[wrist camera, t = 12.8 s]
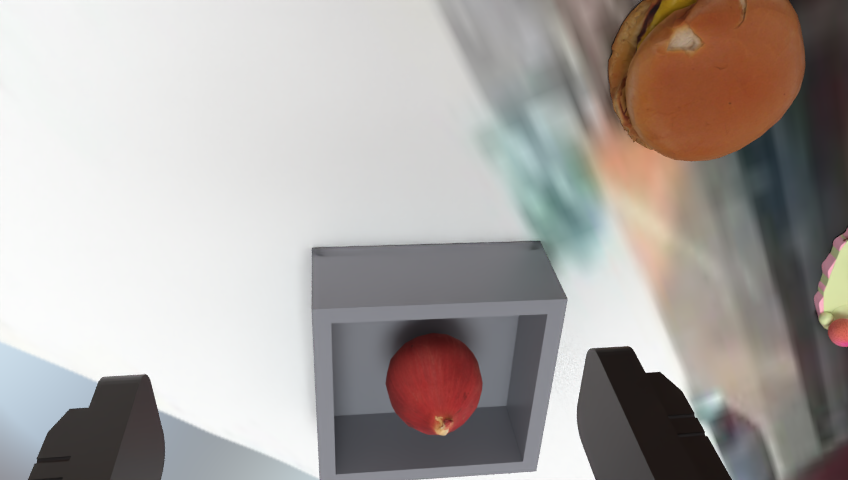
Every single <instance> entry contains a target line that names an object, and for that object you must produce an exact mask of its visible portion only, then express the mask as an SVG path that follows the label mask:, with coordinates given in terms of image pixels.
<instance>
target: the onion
mask: <svg viewBox="0 0 848 480" xmlns="http://www.w3.org/2000/svg"><path fill="white" fill-rule="evenodd" d="M385 384H386V388H387V392H388V395H389V399H390V402H391V405H392V407H393V409H394V411H395V413H396V414H397V415H398V416H399V417H400V418H401V419H402V420H403V421H404V422H405V423H406V424H407V425H408V426H409V427H411V428H413V429H415V430H418V431H420V432H422V433H424V434H427V435H447V434H448V433H450V432H453V431H455V430H456V429H458V428H459V427H460V426H462V425H463V424H464V423H465V422H466V421H467V420H468V418H469V417H470V416H471V415H472V414H473V412H474V411H475V410H476V408H477V406H478V403H479V400H480V396H481V392H482V385H483V382H482V377H481V373H480V368H479V364H478V361H477V359H476V357H475V355H474V354H473V352H472V351H471V350H470V349H469V348H468V347H467V346H466V345H465V344H464V343H463V342H461V341H460V340H458V339H456V338H454V337H452V336H450V335H447V334H438V333H430V334H426V335H422V336H418V337H416V338H414V339H412V340H410V341H408V342H406V343H405V344H404V345H403V346H402V347H401V348H400V349H399V350H398V351H397V352H396V353H395V355H394V356H393V357H392V358H391V360H390V363H389V367H388V371H387V376H386V383H385Z"/></svg>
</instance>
